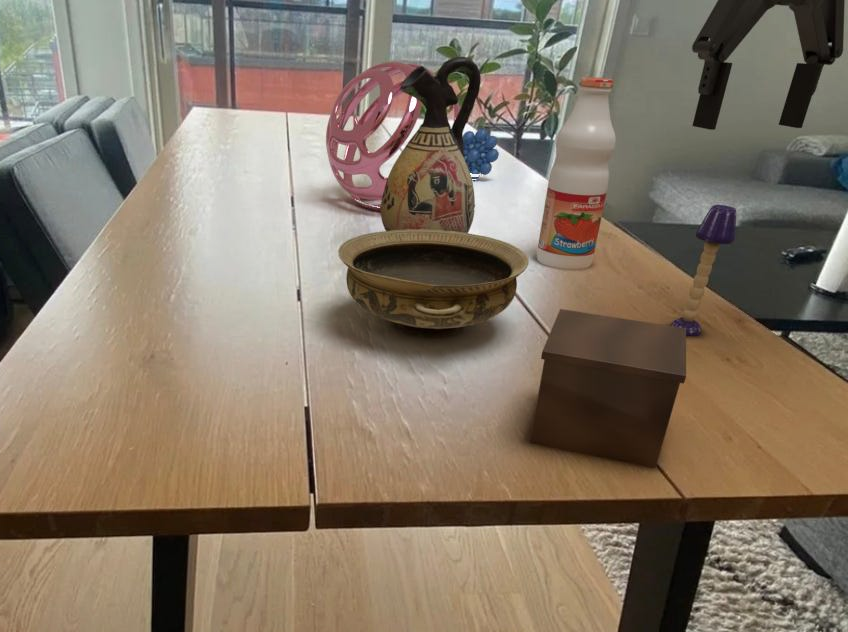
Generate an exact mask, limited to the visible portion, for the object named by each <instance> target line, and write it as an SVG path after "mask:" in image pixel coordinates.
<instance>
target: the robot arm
mask: <svg viewBox="0 0 848 632" xmlns="http://www.w3.org/2000/svg"><path fill="white" fill-rule="evenodd" d="M845 3H846V1H845V0H717V1H716V3H715V5H714V6H713V8H712V10H711V12H710V13H709V15H708V17H707V19H706V21H705V22H704V24H703V26H702V27H701V29H700V31H699V33H698V34H697V36H696V38H695V40H694V41H693V44H692V46H691V50H692V53H695V54H697V58H698V59H699V60H703V61H704V62H703V66H702V67H703V68H702V71H701V75H700V80H699V84H698V87H697V91H698V94H699V96H698V101H697V105H696V109H695V114H694V118H693V122H692V125H691V126H692V127H695V128H700V129H706V130H710V131H711V130H714V131H715V130H716V127H717V124H718V120H719V116H720V113H721V109H722V105H723V101H724V99H725V94H726V90H727V86H728V82H729V78H730V75H731V71H732V67H733V62H727V60H728V59H729V57H730V56H731V55H732V54H733V52H734V51H735V50H736V49H737V47H739V45H740V44H741V43H742V41H743V40H744V39H745V38H746V36H748V34H749V33H750V32H751V31H752V29H753V28H754V27H755V26H756V24H757V23H759V21H760V20H761V18H762V17H763V16H764V15H765V13H767V11H768V10H770V9H772V8H774V7H775V6H785V7H788V8H789V10H791V11H792V12H793V16H794V19H795V25H796V28H797V33H798V39H799V43H800V47H801V52H802V58H803V61H804V62H797V63H796V65H795V68H794V71H793V75H792V78H791V82H790V85H789V88H788V91H787V94H786V98H785V102H784V105H783V108H782V112H781V115H780V118H779V121H778V125H777V126H783V127H789V128H793V129H794V128H795V129H802V128H803V125H804V123H805V120H806V116H807V113H808V110H809V107H810V103H811V100H812V97H813V96H814V94H815V93H816V91H817V87H818V84H819V81H820V77H821V75H822V72H823V69H824V66H832V65H833V64H834V63H835V62H836V59H840V57H841V56H842V55H843V52H844V37H845V34H844V33H845V31H844V30H845Z"/></svg>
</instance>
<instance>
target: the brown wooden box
mask: <svg viewBox="0 0 848 632" xmlns="http://www.w3.org/2000/svg"><path fill="white" fill-rule="evenodd" d="M540 359H541V360H543V366H542V371H541V376H540V382H539V388H538V394H537V399H536V403H535V409H534V415H533V421H532V425H531V426H532V427H531V432H530V437H529V444H531V445H536V446H537V445H538V446H542V447H547V448H552V449H557V450H561V451H567V452H571V453H576V454H583V455H588V456H592V457H597V458H600V459H601V458H602V459H607V460H612V461H617V462H621V463H627V464H631V465H636V466H641V467H647V468H650V469H656V468H657V466H658V465H657V464H658V462H659V458H660V455H661V451H662V447H663V444H664V441H665V437H666V435H667V431H668V427H669V423H670V419H671V416H672V413H673V409H674V406H675V402H676V398H677V395H678V392H679V388H680V386H681V385H680V384H685V382H686V378H687V336H686V328H680V327H674V326H670V325H666V324H659V323H653V322H647V321H640V320H634V319H627V318H623V317H622V318H621V317H615V316H608V315H603V314H602V315H601V314H596V313H589V312H582V311H576V310H571V309H570V310H569V309H563V308H560V309H559V311H558V313H557V316H556V318H555V321H554V323H553V325H552V327H551V330H550V332H549V335H548V337H547V339H546V341H545V344H544V346H543V348H542V351H541V357H540Z"/></svg>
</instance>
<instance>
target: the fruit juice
mask: <svg viewBox="0 0 848 632" xmlns="http://www.w3.org/2000/svg"><path fill="white" fill-rule="evenodd" d="M613 87H614V79H611V78H605V77H595V76H594V77H593V76H592V77H591V76H583V77H581V78H580V80H579V88H578V89H579V91H580V92H579V96H578V97H577V98H578V99H577V100H576V102H575V104H574V107H573V109H572V111H571V113H570V115H569V116H568V118H567V120H566V121H565V122H564V124H563V125H562V126H561V127H560V129H559V130H558V132H557V136H556V138H555V139H556V140H555V153H556V157H555V162H554V164H553V165H552V167H551V170H550V173H549V178H548V182H547V189H546V195H545V201H544V207H543V212H542V220H541V225H540V231H539V239H538V243H537V250H536V261H538V262H539V263H540V264H541V265H544V266H546V267H549V268H555V269H559V270H570V271H571V270H575V271H576V270H584V269H588V268H589V267H591V265H592V263H593V260H594V256H595V251H596V248H597V247H596V246H597V241H598V236H599V232H600V226H601V221H602V216H603V212H604V211H603V210H604V207H605V202H606V197H607V193H608V188H609V180H610V171H609V170H610V169H609V163H610V160H611V158H612V156H613V153H614V151H615V149H616V143H617V136H616V133H615V129H614V127H613V124H612V119H611V118H612V117H611V111H610V99H609V97H610V93H611V92H612V89H613Z"/></svg>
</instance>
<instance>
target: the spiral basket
mask: <svg viewBox="0 0 848 632" xmlns="http://www.w3.org/2000/svg"><path fill="white" fill-rule="evenodd" d="M419 66H421V65H420V64H416V63H405V62H402V61H395V60H394V61H392V60H391V61H385V62H380V63H377V64H375V65H372V66H370V67H368V68H367V69H365V70H364V71H362V72H360V73H359V74H357V75H356V76H355V77H354V78H352V79H351V80H350V81H348V83H347V84H346V85H345V86H344V87H343V88H342V89H341V91H340V92H339V94H338V96H337V97H336V100H335V102H334V103H333V106H332V109H331V113H330V115H329V118H328V121H327V126H326V131H325V147H326V154H327V158H328V163H329V167H330V169H331V172H332V174H333V176H334V178H335V180H336V182H337V184H339V186H340V187H341V188H342V189H343V190H344V191H346V192H347V194H348V195H349V196H350V197H351V198H352V199H353V198H354V199H356V200H359V201H361V200H367V201H382V196H383V192H384V188H385V185H386V182H387V179H388V177H385V176H384V175H383V174H382V173H381V171H380V170H381V169H380V168H381V167H382V166H383V165H384V164H385V163H386V162H388V161H389V160H390V159H391V158H392V157H394V156H395V154H396V153H397V152H398V151H399V150H400V149H401V147H402V146H403V145H404V144H405V142H406V141H407V139H409V137H410V135H411V133H412V132H413V130H414V128H415V126H416V123H417V121H418V118H419V115H420V112H421V109H422V105H423V103H422V102H421V101H419V100H417V99H416V98H414V97H412V96H411V95H409V94H408V100H407V104H406V108H405V111H404V114H403V115H402V118H401V120H400V122H399V123H398V126H397V128H396V129H395V131H393V133H392V135H391V136H390V137H389V138H388V139H387V141H386V142H385V143H383V144H382V145H381V146H380V147H379V148H378V149H377V150H375V151H373V152H371V151H370V150H369V149H368V145H367V142H366V141H367V139H368V138H369V137H371V136H372V135H373V134H374V133H375V132H376V131H377V130H378V129H379V128H380V126H381V125H382V124H383V123H384V121H385V119H386V118H387V116H388V114H389V112H390V110H391V107H392V105H393V101H394V100H395V99H396V98H398V97H399V96H401V95H403V94H405V93H404V92H402V91H401V90H400V87H401V84H402V82H403V81H404V80H401V81H399V82H397V83H395V84H394V82H393V81H394V80H393V79H392V77H393V76H395V75H397V74H401V73H403V74H404V76H405V79H406V78H407V76H408V75H409V74H410V73H411V72H412V71H413V70H415V69H416V68H418V67H419ZM423 67H424V68H425V69H426V70H427V71H428V72H429V73H430V74H431V75H432V76H433V77H435V76H436V75H437V74H435V72H434V71H432V70H430V69H429V68H427V67H425V66H423ZM383 69H384V70H383ZM367 79H368V80H367ZM363 80H367V82H365V83H364V84H363V85H362V86H361V87H360V88H359V89H358V90H357V91H356V93H355V94H353V96H352V97H351V98H350V100H349V102H347V104H346V106H345V107H344V109H343V110H342V112H341V113H340V114H339V116H338V112H339V110H341V109H340V108H341V107H342V105H343V103H344V102H345V101H346V99H347V97H348V96H349V95H350V94H351V93H352V91H353V90H354V89H355V87H357V86H358V85H359V84H360V83H361V82H363ZM377 86H379V96H378V97H377V98H376V99H375V100H373V102H371V104H370V105H369V106H368V107H367V109H366V110H365V111H364V112H363V114H362V115H361V116H360V118H359V119H358V117H357V115H356V114H353V112H354V111H355V110H356V109H357V107H358V105H359V104H360V103H361V102H362V101H363V100H364V98H365V97H366V96H367V95H368V94H369V93H370V92H371V91H372V90H374V89H375V88H376V87H377ZM452 106H453V114H454V115H453V117H454V118H453V122H454V121H455V119H456V118H457V115H458V113H459V111H460V109H461V106H460V102H459V101H458V103H457V104H455V105H452ZM352 115H353V118H352V119H353V121H352V122H353V126H352V129H349V130H346V129H345V127H346V125H347V123H348V121H349V119H350V118H351V116H352ZM337 116H338V117H337ZM339 145H341V146H346V147H345V152H344V156H343V159H341V158H340V157H338V151H339ZM357 150H358V151H359V158H358V159H357V160H355V155H356V152H357ZM340 172H341V173H342V175H341V174H340ZM354 175H356V176H357V175H367V177H368V178H370V181H371V184H370V185H368V186H356V185H355V184H354V181H353V176H354ZM342 176H343V177H342ZM354 199H353V200H354ZM360 199H361V200H360ZM355 203H357V204H358V205H360V206H361V207H363V208H365V209H367V210H371V211H375V212H381V211H380V208H377V207H372V206H369V205H365V204H362V203H359V202H357V201H355ZM371 204H372V205H374V206H378V207H381V203H380V204H379V203H378V204H375V203H374V204H373V203H371Z"/></svg>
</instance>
